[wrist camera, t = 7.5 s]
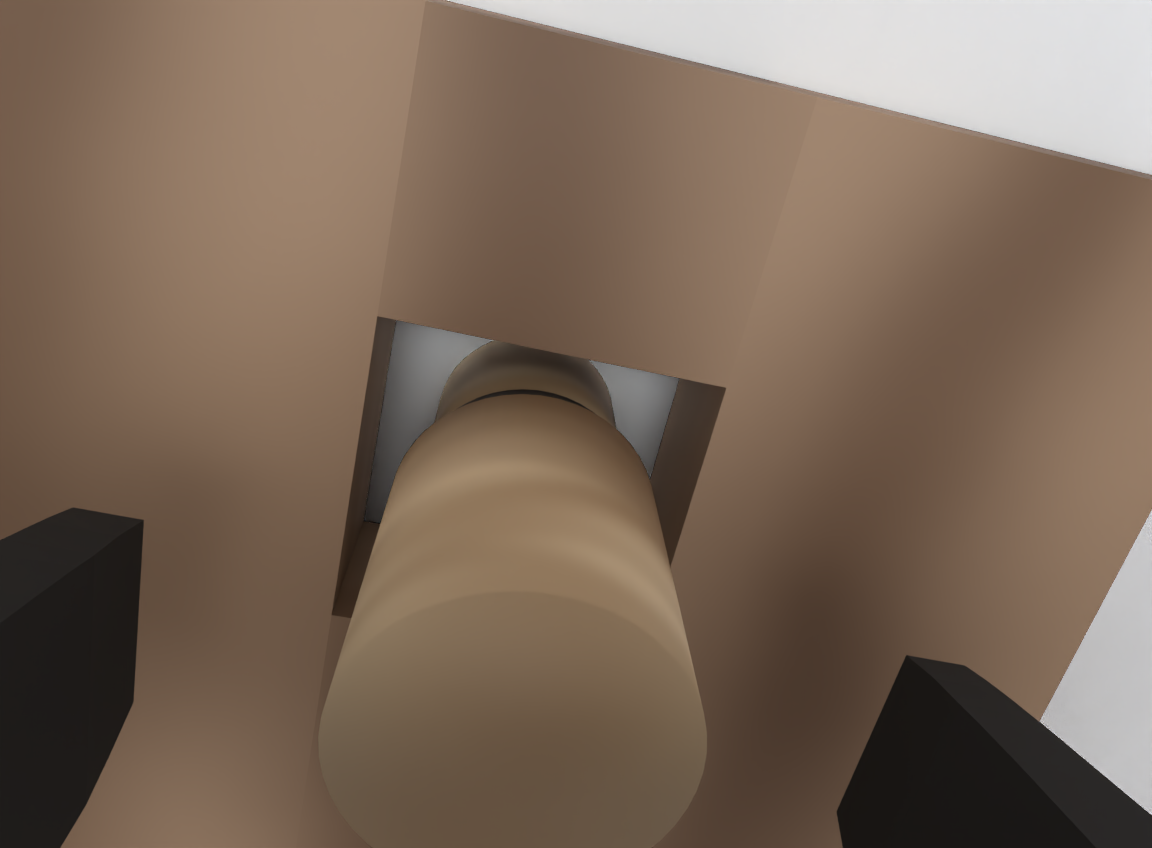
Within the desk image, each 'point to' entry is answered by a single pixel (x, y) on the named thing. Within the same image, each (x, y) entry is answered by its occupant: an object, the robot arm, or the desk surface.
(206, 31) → the board
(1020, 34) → the desk surface
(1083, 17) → the desk surface
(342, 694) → the peg
